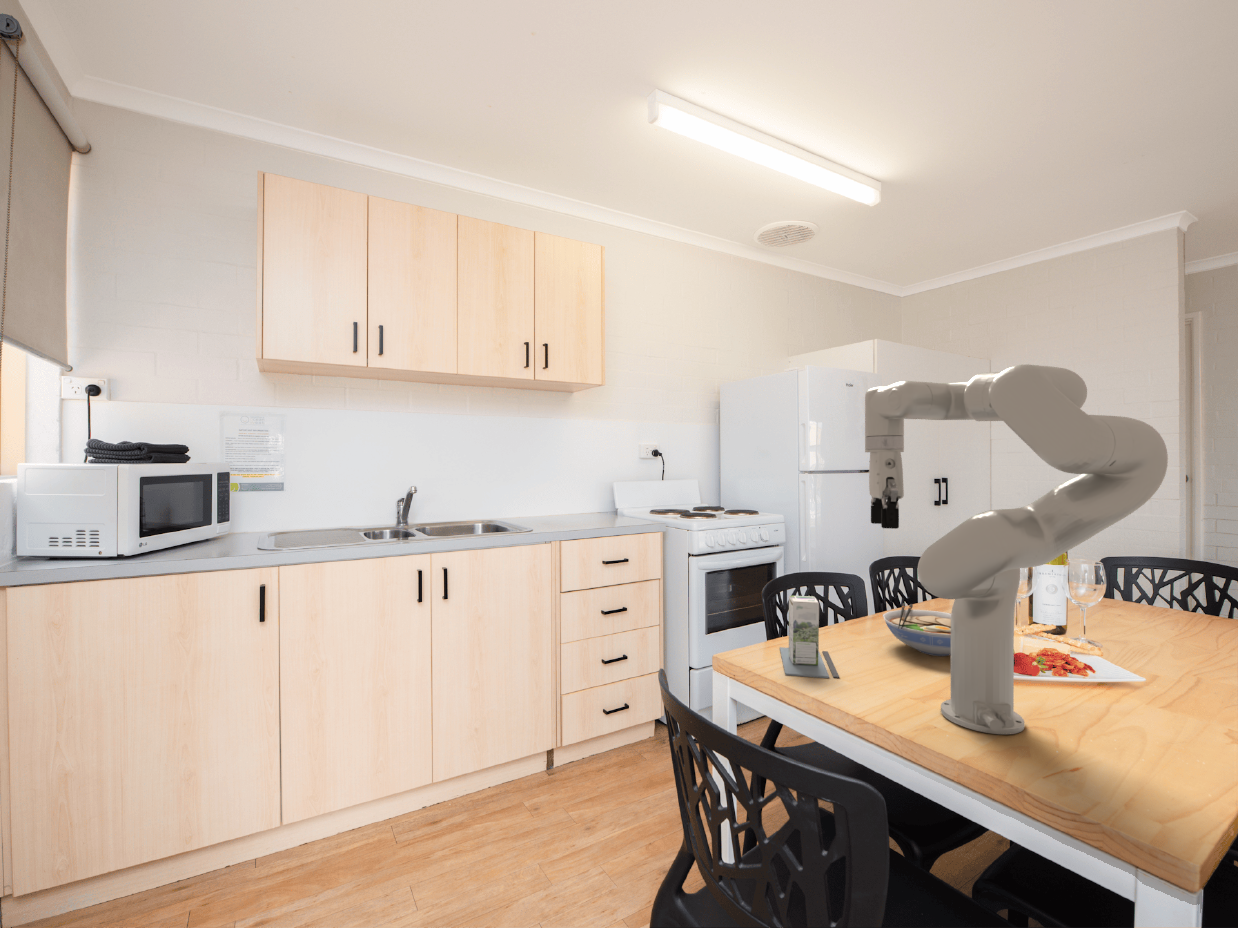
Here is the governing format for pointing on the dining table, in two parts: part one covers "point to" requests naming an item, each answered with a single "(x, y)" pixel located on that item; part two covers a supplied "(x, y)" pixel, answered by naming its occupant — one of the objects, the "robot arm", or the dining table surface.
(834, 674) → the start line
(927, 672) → the dining table surface
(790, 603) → the syrup box
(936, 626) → the ramen bowl
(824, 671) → the mat
